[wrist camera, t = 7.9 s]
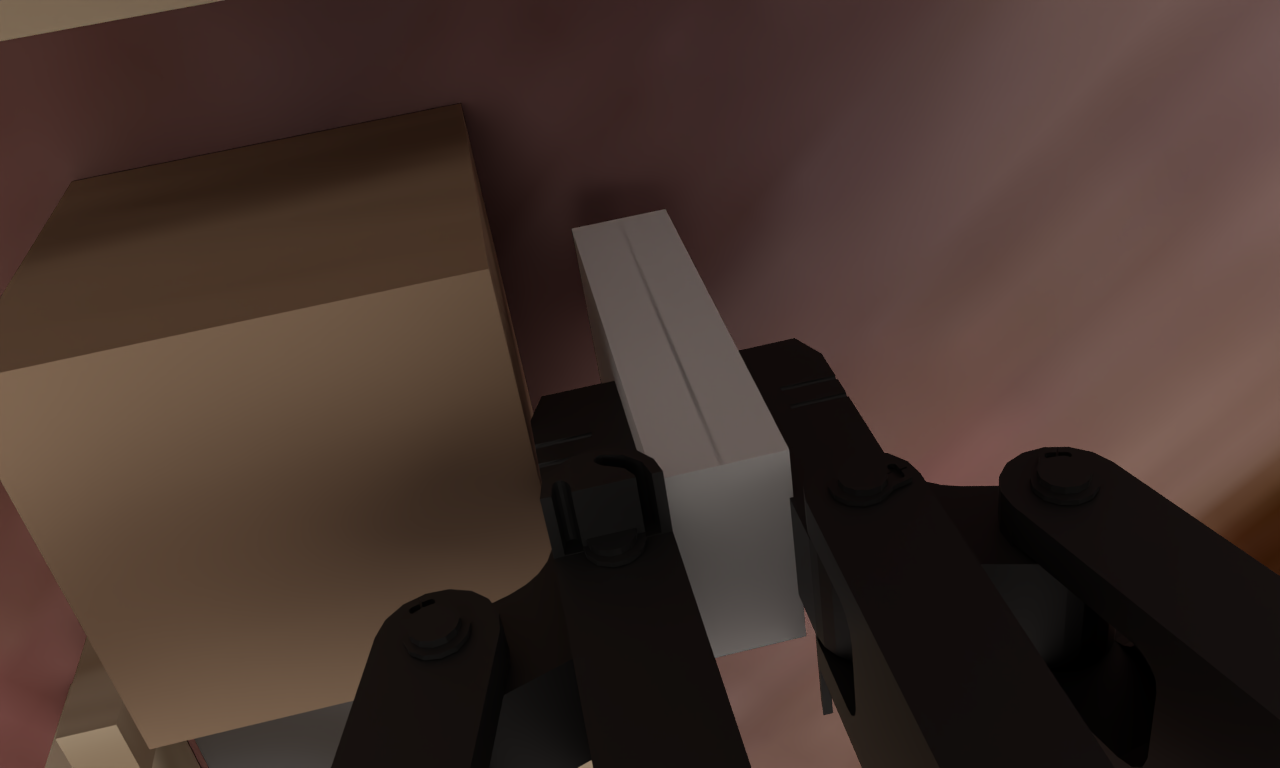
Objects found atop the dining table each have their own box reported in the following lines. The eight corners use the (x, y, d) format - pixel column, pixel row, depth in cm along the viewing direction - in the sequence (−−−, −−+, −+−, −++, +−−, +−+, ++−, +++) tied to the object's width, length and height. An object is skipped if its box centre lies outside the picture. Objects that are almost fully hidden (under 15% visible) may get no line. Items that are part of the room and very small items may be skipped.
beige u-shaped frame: (-358, -68, 15) (-504, -15, 13) (480, -211, 16) (497, -188, 14) (200, 912, 27) (181, 1042, 24) (669, 797, 28) (697, 910, 25)
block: (71, 181, 18) (-53, 384, 13) (460, 103, 18) (489, 268, 13) (206, 490, 21) (148, 749, 16) (534, 417, 22) (578, 646, 16)
